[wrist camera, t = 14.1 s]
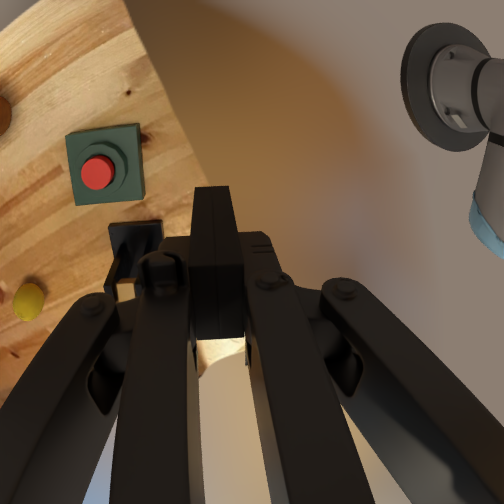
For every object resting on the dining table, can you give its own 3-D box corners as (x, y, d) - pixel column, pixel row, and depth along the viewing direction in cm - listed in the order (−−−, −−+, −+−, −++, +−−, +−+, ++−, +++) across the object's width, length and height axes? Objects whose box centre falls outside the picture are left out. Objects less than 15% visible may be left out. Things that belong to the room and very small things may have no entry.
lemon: (32, 269, 45) (13, 297, 39) (55, 290, 48) (39, 320, 41) (19, 285, 47) (1, 313, 40) (41, 305, 49) (26, 334, 42)
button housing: (139, 123, 38) (133, 127, 34) (145, 194, 43) (140, 205, 39) (70, 132, 36) (59, 138, 33) (80, 200, 41) (71, 211, 38)
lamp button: (112, 153, 36) (108, 156, 34) (116, 183, 38) (112, 188, 36) (83, 157, 35) (79, 160, 34) (88, 186, 37) (83, 191, 36)
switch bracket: (169, 277, 50) (163, 329, 40) (121, 280, 49) (106, 330, 39) (162, 219, 45) (151, 263, 35) (109, 223, 44) (86, 266, 34)
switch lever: (160, 366, 42) (158, 375, 40) (127, 366, 42) (123, 375, 39) (147, 277, 40) (144, 282, 37) (111, 278, 39) (105, 284, 37)
